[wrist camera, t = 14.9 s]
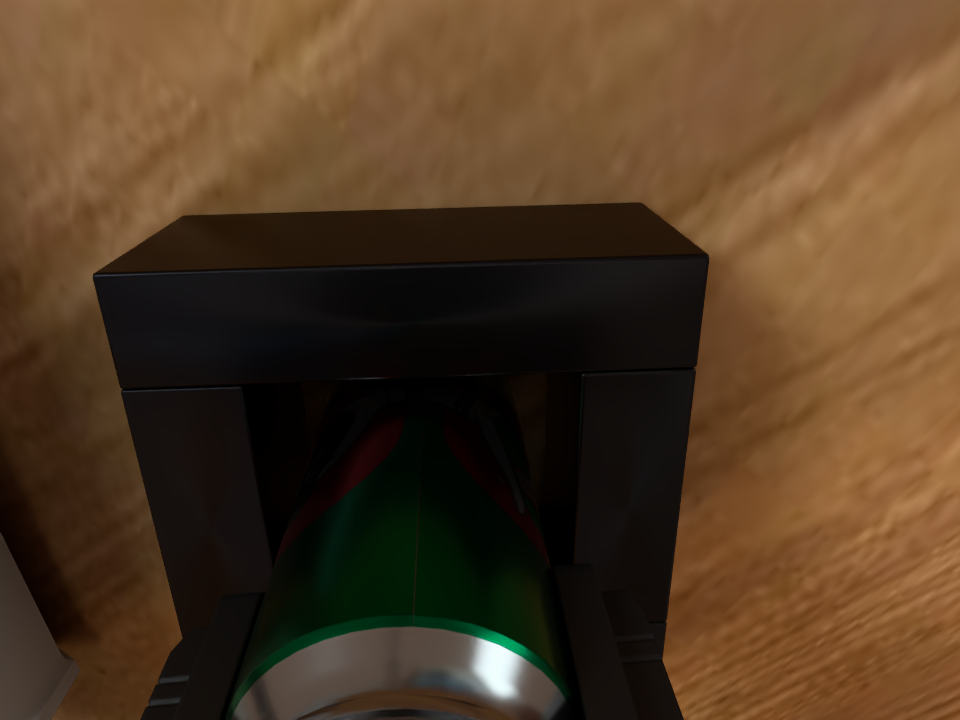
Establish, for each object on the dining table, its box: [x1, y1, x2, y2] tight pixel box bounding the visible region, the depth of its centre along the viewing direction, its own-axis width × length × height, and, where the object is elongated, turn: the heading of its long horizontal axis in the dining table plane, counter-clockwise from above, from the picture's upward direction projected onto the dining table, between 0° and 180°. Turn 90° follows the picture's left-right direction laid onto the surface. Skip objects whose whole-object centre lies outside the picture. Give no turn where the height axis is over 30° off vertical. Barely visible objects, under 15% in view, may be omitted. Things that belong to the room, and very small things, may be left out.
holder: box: [93, 203, 709, 660], centre depth 18 cm, size 12×12×5 cm
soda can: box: [225, 375, 581, 720], centre depth 14 cm, size 5×5×12 cm
